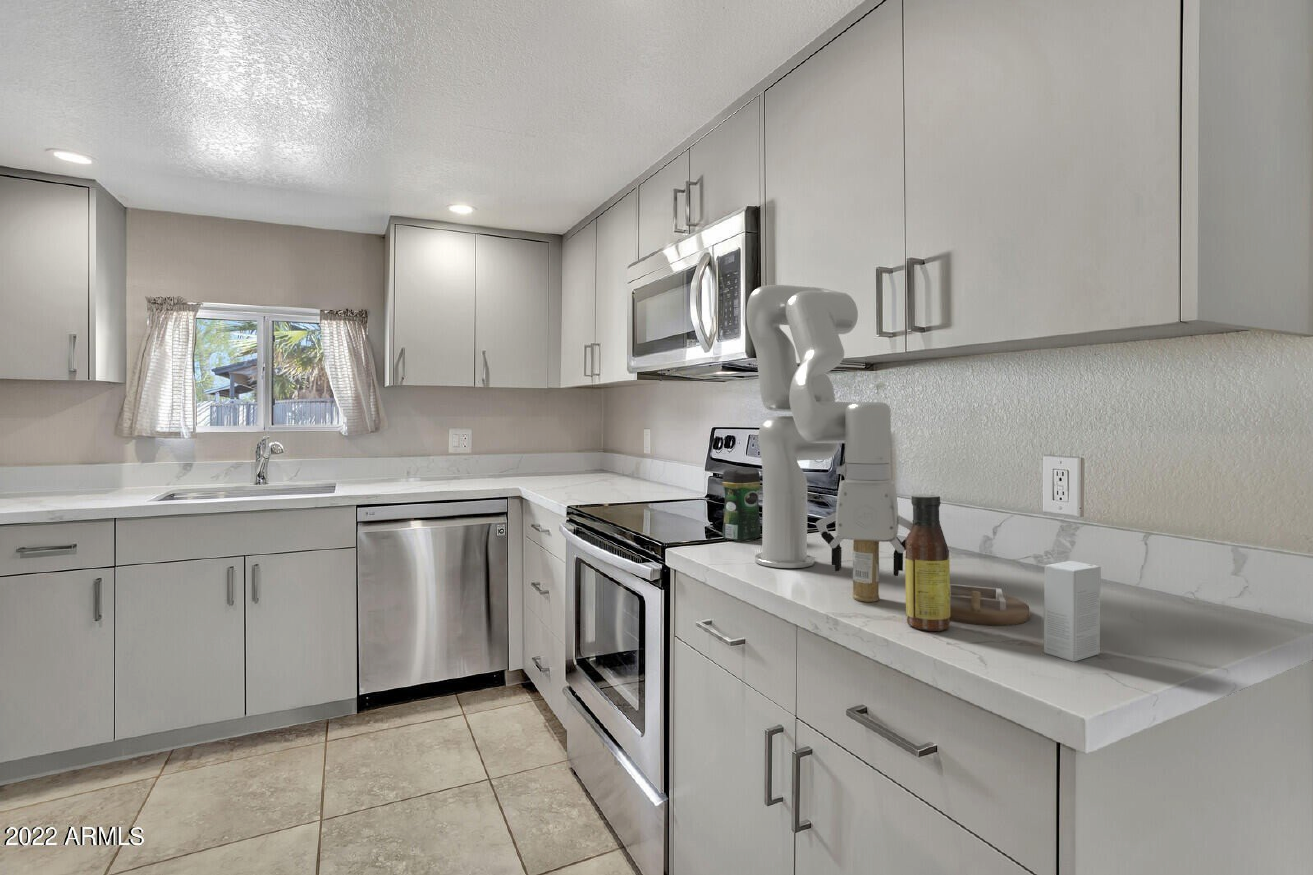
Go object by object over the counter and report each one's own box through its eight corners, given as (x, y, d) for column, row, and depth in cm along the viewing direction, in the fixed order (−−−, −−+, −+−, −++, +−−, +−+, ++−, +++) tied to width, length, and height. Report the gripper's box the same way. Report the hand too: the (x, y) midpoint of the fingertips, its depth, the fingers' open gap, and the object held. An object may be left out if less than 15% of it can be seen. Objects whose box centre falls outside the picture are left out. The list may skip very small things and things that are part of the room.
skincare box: (1067, 645, 93) (1070, 559, 92) (1100, 655, 89) (1102, 566, 89) (1041, 652, 90) (1043, 564, 90) (1073, 662, 86) (1076, 570, 86)
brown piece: (921, 593, 120) (922, 568, 120) (1023, 603, 114) (1023, 577, 114) (919, 617, 105) (920, 589, 105) (1035, 631, 99) (1036, 600, 99)
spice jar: (884, 600, 115) (885, 522, 115) (867, 604, 113) (868, 525, 112) (863, 594, 119) (864, 519, 119) (846, 597, 117) (847, 521, 116)
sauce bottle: (959, 629, 100) (961, 496, 99) (931, 635, 97) (933, 499, 96) (922, 617, 105) (924, 492, 105) (895, 623, 102) (897, 494, 102)
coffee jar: (743, 535, 178) (744, 465, 177) (765, 539, 172) (766, 467, 171) (716, 539, 172) (717, 467, 172) (738, 543, 166) (738, 469, 165)
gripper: (812, 473, 115) (812, 572, 115) (920, 476, 108) (919, 581, 109) (819, 470, 122) (819, 564, 122) (921, 473, 115) (920, 572, 116)
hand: (866, 572), depth 116 cm, fingers open, 9 cm apart
